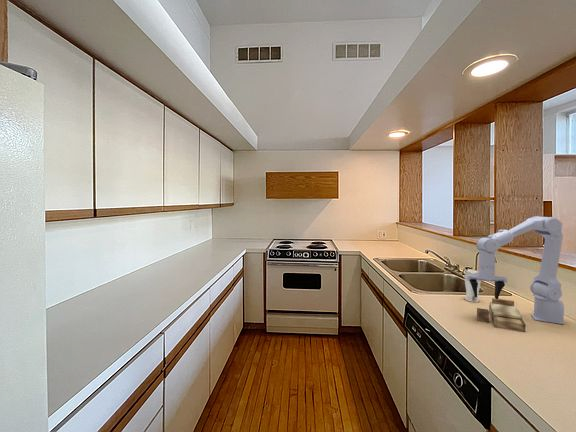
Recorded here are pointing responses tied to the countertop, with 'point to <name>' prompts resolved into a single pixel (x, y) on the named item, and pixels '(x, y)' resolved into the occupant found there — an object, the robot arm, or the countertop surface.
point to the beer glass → (469, 289)
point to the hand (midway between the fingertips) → (485, 297)
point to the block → (482, 315)
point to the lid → (505, 308)
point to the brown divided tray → (507, 322)
